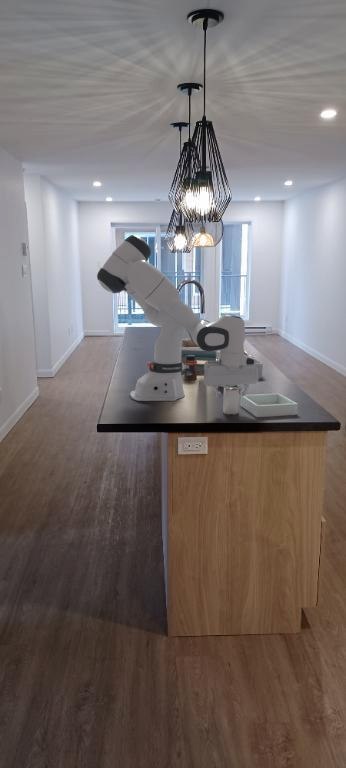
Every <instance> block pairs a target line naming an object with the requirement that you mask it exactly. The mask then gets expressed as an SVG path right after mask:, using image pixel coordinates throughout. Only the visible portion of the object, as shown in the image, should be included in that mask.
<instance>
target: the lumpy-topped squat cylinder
mask: <svg viewBox="0 0 346 768" xmlns="http://www.w3.org/2000/svg"><path fill="white" fill-rule="evenodd" d="M255 359H256V360H257V364H256V366H257V368H258V380H260V379H262V378H263V371H264V370H263V369H264V366H263V364H264V363H263V362H262V361H261V360H260V359H258V358H255Z"/></svg>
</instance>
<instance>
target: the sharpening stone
mask: <svg viewBox="0 0 346 768" xmlns="http://www.w3.org/2000/svg"><path fill="white" fill-rule="evenodd" d="M216 351H220V350H215V351H204V350H202V349H201V348H200V347H185V346H184V347H183V346H182V353H181V362H182V365H184V361H185V360H186V359H187V358H186V356H187V355H195V360H196V361H203V362H207V361H208V360H216ZM204 364H205V363H197V373H204V372H205V371H204Z"/></svg>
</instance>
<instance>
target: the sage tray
mask: <svg viewBox="0 0 346 768" xmlns="http://www.w3.org/2000/svg"><path fill="white" fill-rule="evenodd" d="M239 401H240V405H239V406H240V407H241V408H243V409H245V410H246V411H247V412H248V413H250V414H252V416H254V417H256V418H262V417H263V418H265V417H279V416H280V417H282V416H295V415H296V416H297V415H298V408H299V404H298V403H297V402H295V401H294V400H292V399H290V398H288V397H286V396H285V395H283V394H281V393H279V392H278V393H277V392H276V393H258V394H256V393H255V394H245V396H240V400H239Z"/></svg>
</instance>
